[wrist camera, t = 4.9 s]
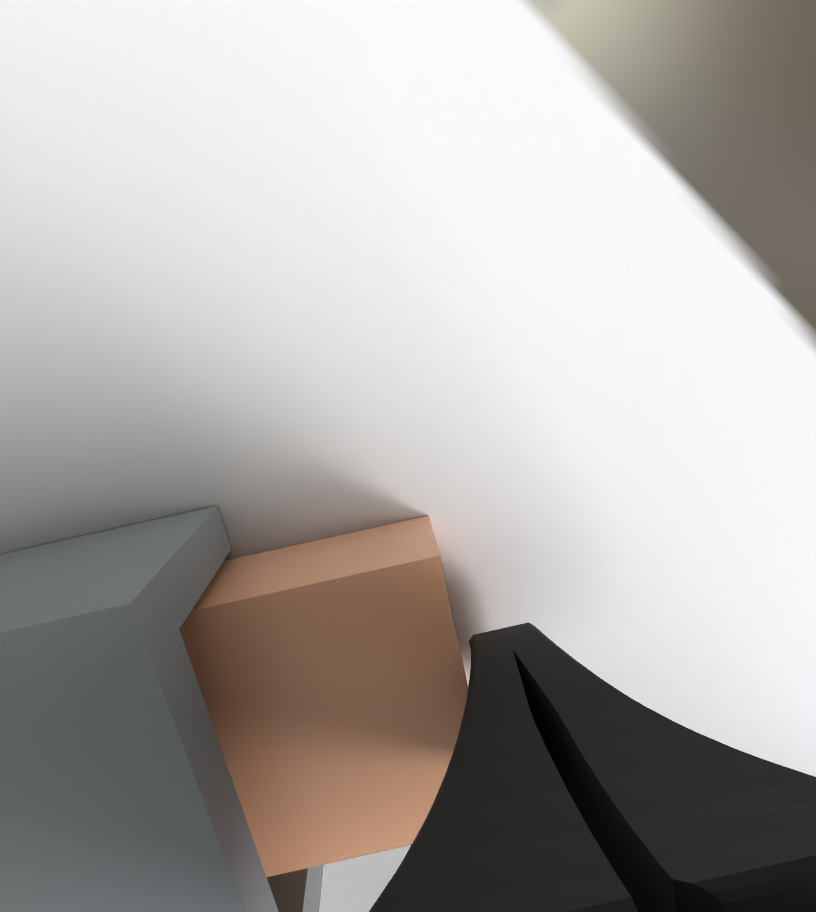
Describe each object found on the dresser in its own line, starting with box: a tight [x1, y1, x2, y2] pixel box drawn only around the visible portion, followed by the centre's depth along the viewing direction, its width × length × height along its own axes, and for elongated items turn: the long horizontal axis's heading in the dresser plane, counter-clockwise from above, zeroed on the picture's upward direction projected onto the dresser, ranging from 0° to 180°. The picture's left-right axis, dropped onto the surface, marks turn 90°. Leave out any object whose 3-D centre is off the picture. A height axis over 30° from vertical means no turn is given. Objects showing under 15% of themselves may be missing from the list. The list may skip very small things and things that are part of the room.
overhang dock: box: [0, 505, 323, 912], centre depth 10 cm, size 7×9×4 cm
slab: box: [179, 516, 468, 877], centre depth 12 cm, size 8×6×2 cm
